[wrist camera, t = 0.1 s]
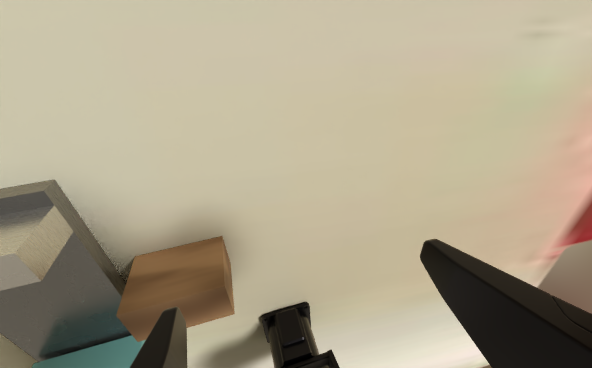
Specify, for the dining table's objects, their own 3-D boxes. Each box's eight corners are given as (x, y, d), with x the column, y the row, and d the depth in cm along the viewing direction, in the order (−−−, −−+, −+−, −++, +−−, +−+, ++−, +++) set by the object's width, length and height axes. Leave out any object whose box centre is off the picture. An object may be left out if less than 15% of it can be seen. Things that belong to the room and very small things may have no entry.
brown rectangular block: (230, 262, 28) (234, 313, 23) (151, 282, 27) (137, 342, 22) (222, 235, 26) (224, 286, 21) (135, 255, 24) (116, 315, 19)
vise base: (161, 335, 31) (151, 395, 26) (66, 362, 29) (36, 433, 24) (54, 179, 19) (-2, 237, 14) (-120, 209, 17) (-255, 288, 12)
